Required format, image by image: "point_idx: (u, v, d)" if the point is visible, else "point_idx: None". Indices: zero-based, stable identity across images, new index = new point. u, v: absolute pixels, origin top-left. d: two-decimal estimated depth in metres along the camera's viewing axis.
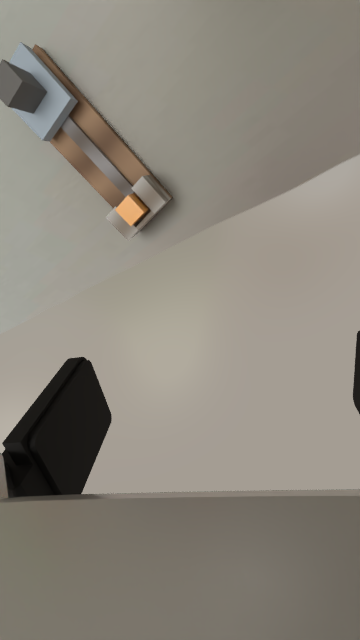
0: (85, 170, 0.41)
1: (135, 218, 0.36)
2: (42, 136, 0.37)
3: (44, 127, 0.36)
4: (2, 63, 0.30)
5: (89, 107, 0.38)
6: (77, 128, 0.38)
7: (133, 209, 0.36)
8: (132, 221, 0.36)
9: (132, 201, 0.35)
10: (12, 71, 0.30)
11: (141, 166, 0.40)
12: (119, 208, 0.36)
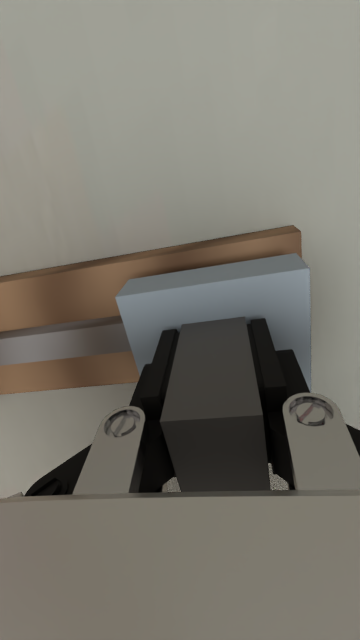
0: (45, 291, 0.15)
1: None
2: (122, 304, 0.12)
3: (138, 325, 0.12)
4: None
5: None
6: (120, 349, 0.15)
7: None
8: None
9: None
10: None
11: (11, 391, 0.19)
12: None
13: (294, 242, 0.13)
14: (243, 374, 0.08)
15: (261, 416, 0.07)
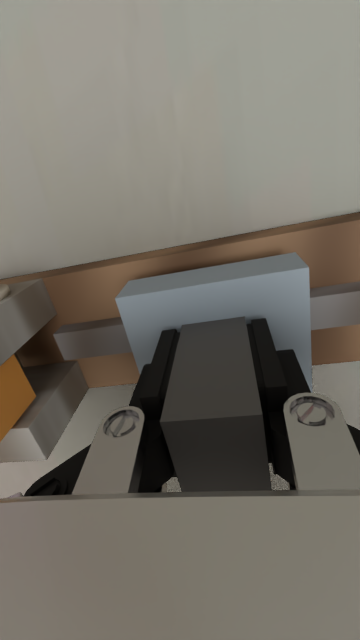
0: (172, 271, 0.14)
1: None
2: (122, 305, 0.12)
3: (138, 326, 0.12)
4: None
5: None
6: None
7: None
8: None
9: None
10: None
11: (111, 383, 0.18)
12: None
13: None
14: (243, 374, 0.08)
15: (261, 416, 0.07)
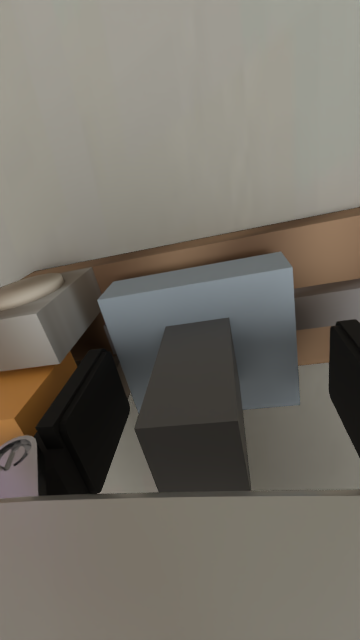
0: (234, 258, 0.13)
1: None
2: (105, 307, 0.11)
3: (121, 328, 0.12)
4: None
5: None
6: (323, 324, 0.13)
7: None
8: None
9: None
10: None
11: None
12: (13, 432, 0.09)
13: None
14: (222, 378, 0.08)
15: (236, 422, 0.07)
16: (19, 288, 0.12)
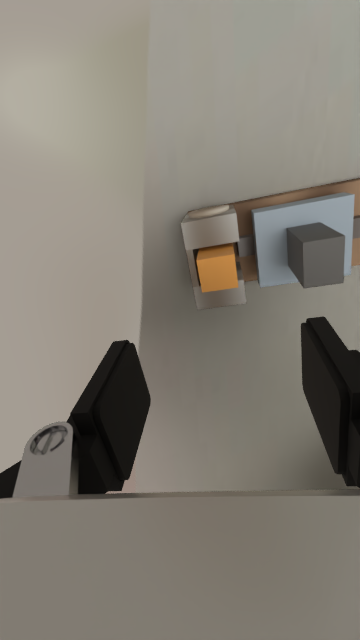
0: None
1: (202, 275, 0.21)
2: (256, 217, 0.23)
3: (262, 229, 0.23)
4: (340, 278, 0.19)
5: None
6: None
7: (215, 281, 0.21)
8: (200, 267, 0.21)
9: (226, 287, 0.21)
10: (322, 284, 0.19)
11: None
12: (231, 262, 0.21)
13: None
14: (331, 231, 0.19)
15: (344, 236, 0.18)
16: (208, 209, 0.23)
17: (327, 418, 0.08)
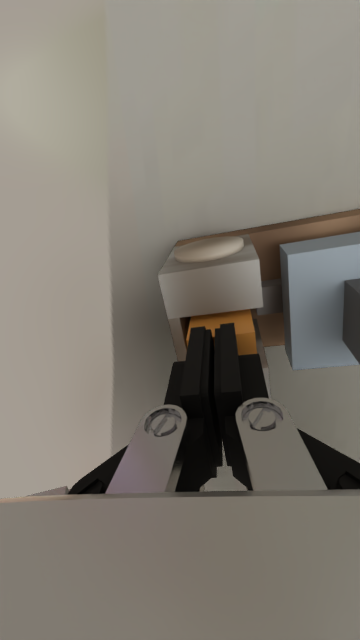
0: None
1: None
2: (293, 262, 0.13)
3: (302, 282, 0.13)
4: None
5: None
6: None
7: None
8: None
9: None
10: None
11: (284, 342, 0.18)
12: (248, 345, 0.11)
13: None
14: None
15: None
16: (207, 246, 0.14)
17: None
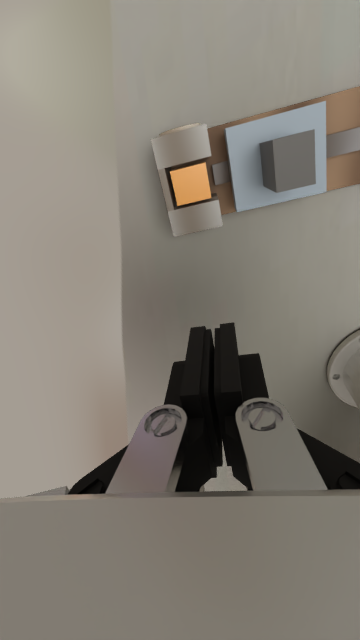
0: None
1: (176, 187, 0.22)
2: (228, 133, 0.22)
3: (235, 146, 0.23)
4: (313, 179, 0.19)
5: (340, 185, 0.26)
6: (337, 153, 0.24)
7: (189, 192, 0.22)
8: (174, 178, 0.22)
9: (200, 198, 0.22)
10: (295, 186, 0.19)
11: None
12: (202, 171, 0.22)
13: None
14: None
15: (314, 130, 0.18)
16: None
17: None
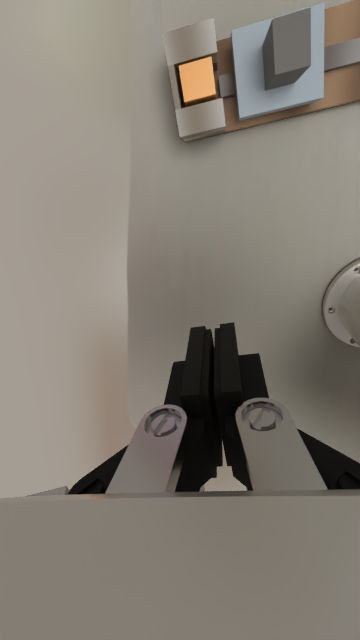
0: None
1: (184, 82, 0.24)
2: (234, 34, 0.24)
3: (240, 49, 0.25)
4: (308, 60, 0.21)
5: (338, 102, 0.28)
6: (335, 65, 0.26)
7: (195, 88, 0.24)
8: (182, 73, 0.24)
9: (205, 94, 0.24)
10: (292, 68, 0.21)
11: (239, 126, 0.30)
12: (208, 65, 0.24)
13: None
14: None
15: (310, 8, 0.19)
16: None
17: None
